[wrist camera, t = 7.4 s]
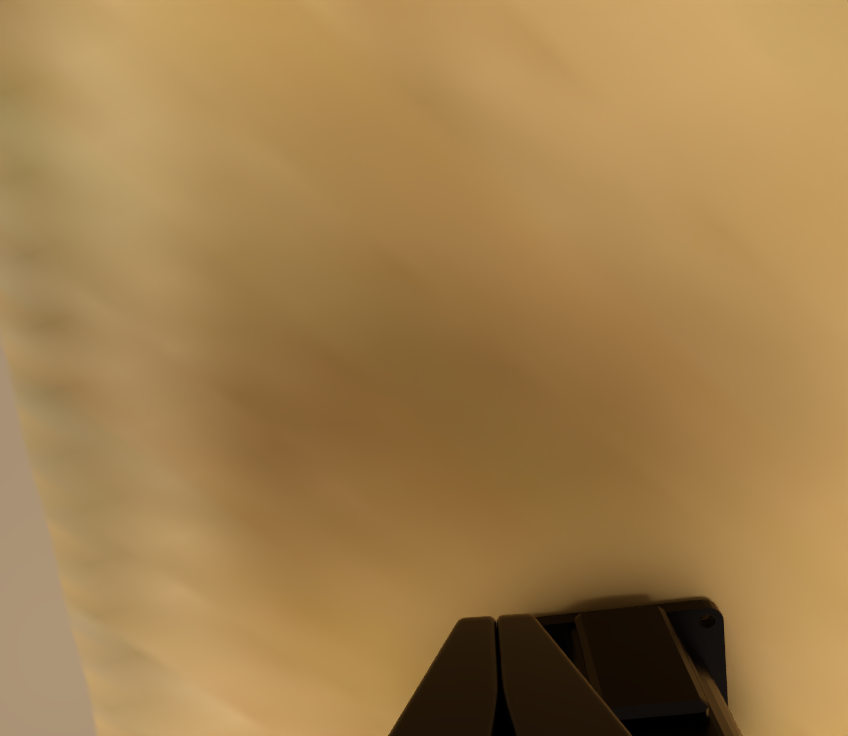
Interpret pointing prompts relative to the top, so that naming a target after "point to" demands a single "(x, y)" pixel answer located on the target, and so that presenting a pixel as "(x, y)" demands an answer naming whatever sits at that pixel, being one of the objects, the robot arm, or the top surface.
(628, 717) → the robot arm
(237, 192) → the top surface
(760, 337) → the top surface
